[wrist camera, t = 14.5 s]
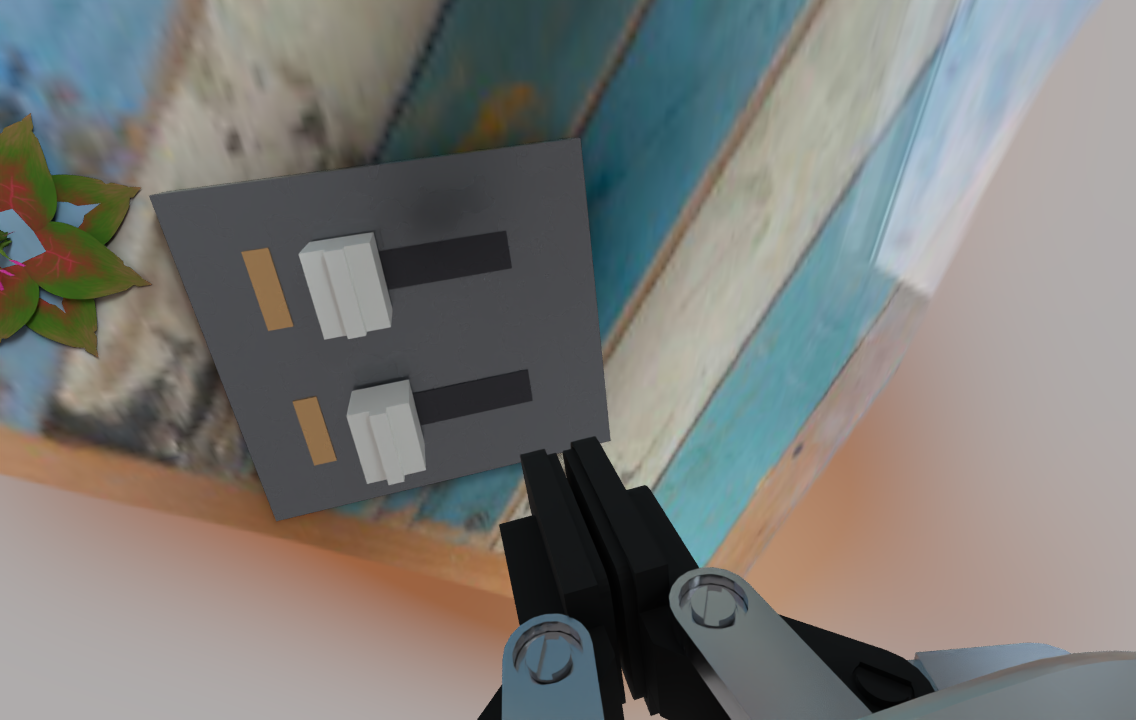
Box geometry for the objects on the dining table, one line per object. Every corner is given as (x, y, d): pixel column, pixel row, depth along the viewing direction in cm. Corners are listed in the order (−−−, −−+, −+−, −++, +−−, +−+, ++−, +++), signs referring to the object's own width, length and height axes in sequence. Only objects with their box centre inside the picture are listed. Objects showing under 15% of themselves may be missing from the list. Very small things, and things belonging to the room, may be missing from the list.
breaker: (373, 232, 28) (368, 244, 25) (392, 309, 30) (390, 331, 26) (309, 242, 27) (295, 256, 24) (332, 320, 29) (322, 344, 26)
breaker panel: (570, 137, 31) (580, 137, 29) (600, 426, 38) (611, 441, 36) (166, 191, 27) (148, 195, 25) (283, 500, 34) (275, 522, 32)
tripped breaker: (408, 379, 31) (408, 407, 28) (424, 442, 33) (426, 476, 29) (351, 391, 31) (345, 421, 27) (370, 454, 32) (366, 490, 29)
